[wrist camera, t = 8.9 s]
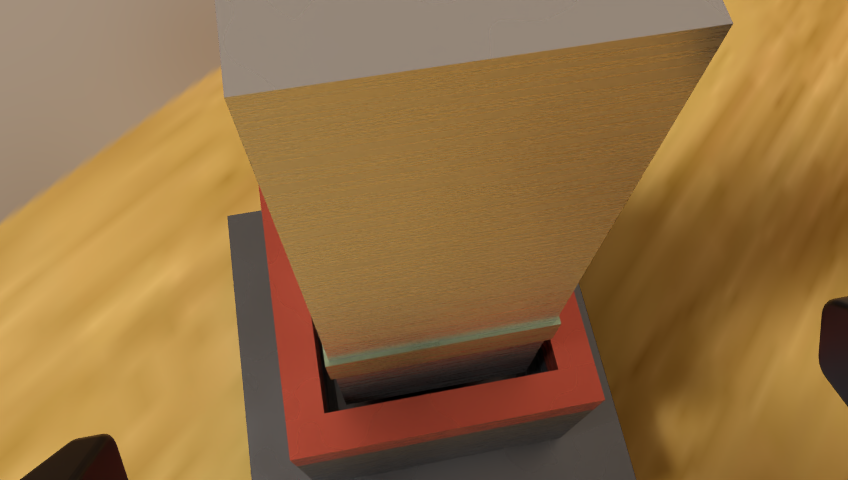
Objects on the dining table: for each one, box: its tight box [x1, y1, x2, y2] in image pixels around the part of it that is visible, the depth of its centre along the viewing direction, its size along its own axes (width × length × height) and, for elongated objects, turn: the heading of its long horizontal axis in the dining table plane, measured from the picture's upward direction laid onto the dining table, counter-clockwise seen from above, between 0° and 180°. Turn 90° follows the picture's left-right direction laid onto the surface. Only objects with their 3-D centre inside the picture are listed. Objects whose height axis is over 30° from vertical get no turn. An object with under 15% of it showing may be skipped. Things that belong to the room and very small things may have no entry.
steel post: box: [215, 0, 733, 405], centre depth 12 cm, size 4×4×12 cm
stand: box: [228, 186, 636, 480], centre depth 19 cm, size 10×10×6 cm
